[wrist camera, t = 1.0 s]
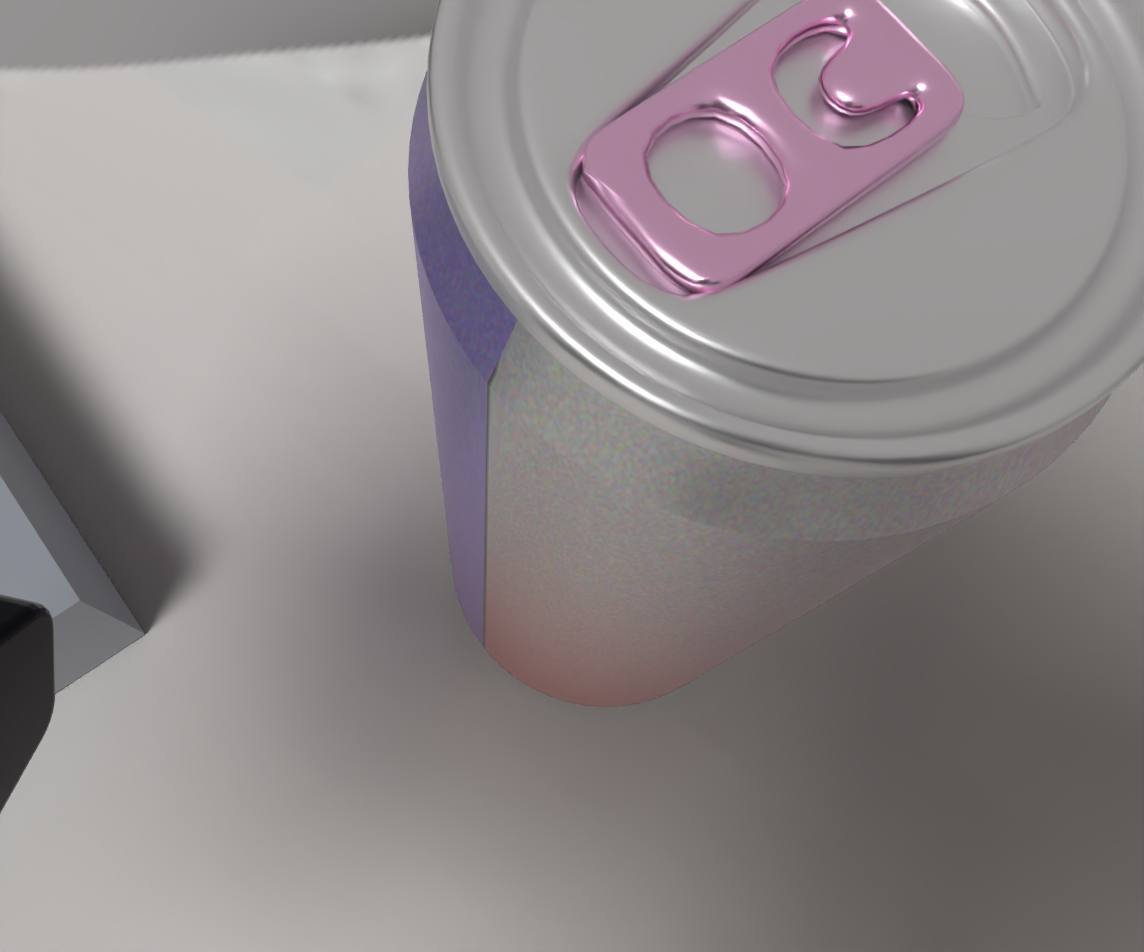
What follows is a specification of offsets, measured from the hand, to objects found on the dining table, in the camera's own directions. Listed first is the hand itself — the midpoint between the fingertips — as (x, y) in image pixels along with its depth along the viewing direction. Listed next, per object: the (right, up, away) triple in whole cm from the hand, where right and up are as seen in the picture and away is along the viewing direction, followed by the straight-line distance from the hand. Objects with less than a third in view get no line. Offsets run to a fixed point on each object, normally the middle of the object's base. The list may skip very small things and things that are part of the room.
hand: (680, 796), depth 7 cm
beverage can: (0, 0, +14) cm, 14 cm away
